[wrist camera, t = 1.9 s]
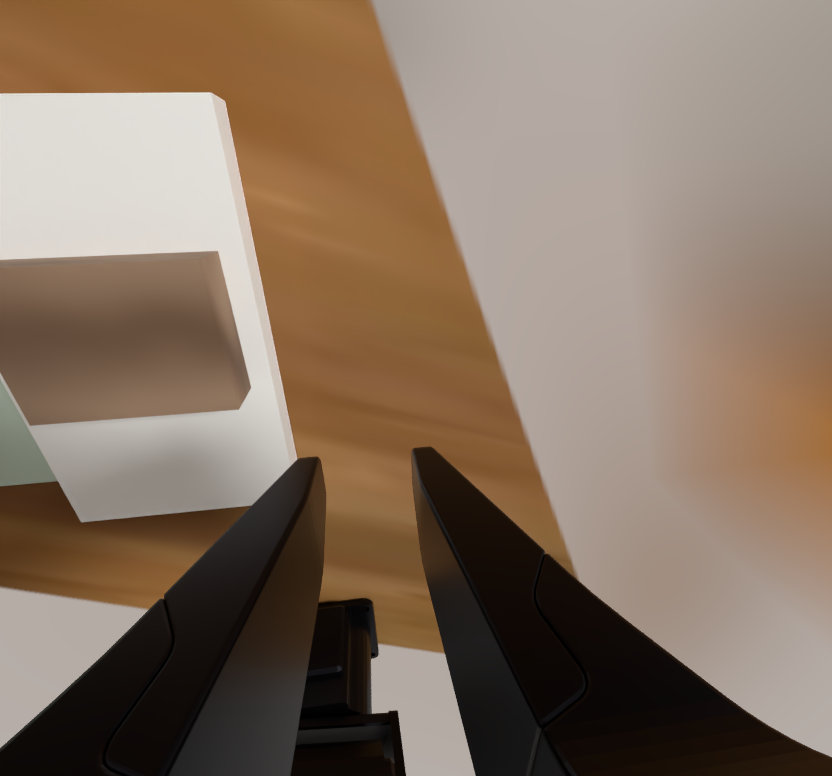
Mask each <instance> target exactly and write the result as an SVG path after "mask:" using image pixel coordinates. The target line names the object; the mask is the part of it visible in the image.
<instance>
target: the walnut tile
mask: <svg viewBox="0 0 832 776" xmlns="http://www.w3.org/2000/svg"><path fill="white" fill-rule="evenodd" d="M0 373H1V375H2V377H3V378H4V380H5V382H6V384H7V386H8V387H9V389H10V391H11V393H12V395H13V396H14V398H15V400H16V402H17V403H18V405H19V407H20V409H21V411H22V412H23V414H24V416H25V418H26V419H27V421H28V423H29V425H30V426H33V425H46V424H59V423H72V422H85V421H98V420H111V419H124V418H137V417H150V416H163V415H176V414H189V413H202V412H215V411H228V410H239V409H240V407H241V405H242V403H243V402H244V400H245V398H246V396H247V395H248V393H249V391H250V389H251V385H250V380H249V376H248V372H247V368H246V364H245V360H244V356H243V352H242V348H241V343H240V339H239V335H238V331H237V327H236V323H235V319H234V315H233V310H232V306H231V302H230V298H229V294H228V290H227V286H226V282H225V278H224V273H223V269H222V265H221V261H220V257H219V253H218V251H203V252H179V253H154V254H130V255H106V256H81V257H57V258H33V259H8V260H0Z"/></svg>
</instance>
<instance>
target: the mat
mask: <svg viewBox="0 0 832 776" xmlns="http://www.w3.org/2000/svg"><path fill="white" fill-rule="evenodd" d="M54 481H57V479H56V477H55V475H54V474H53V472H52V470H51V468H50V466H49V465H48V463H47V461H46V459H45V458H44V456H43V454H42V452H41V451H40V449H39V447H38V445H37V443H36V442H35V440H34V438H33V436H32V435H31V433H30V431H29V429H28V428H27V426H26V424H25V422H24V420H23V419H22V417H21V415H20V413H19V412H18V410H17V408H16V406H15V405H14V403H13V401H12V399H11V398H10V396H9V394H8V392H7V390H6V389H5V387H4V385H3V383H2V382H1V380H0V486H10V485H21V484H32V483H43V482H54Z"/></svg>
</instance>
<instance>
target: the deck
mask: <svg viewBox="0 0 832 776" xmlns="http://www.w3.org/2000/svg"><path fill="white" fill-rule="evenodd" d="M203 251H218V253H219V257H220V261H221V265H222V269H223V273H224V278H225V282H226V286H227V290H228V294H229V298H230V302H231V306H232V310H233V315H234V319H235V323H236V327H237V331H238V335H239V339H240V343H241V348H242V352H243V356H244V360H245V364H246V368H247V372H248V376H249V380H250V385H251V389H250V391H249V393H248V395H247V396H246V398H245V400H244V402H243V403H242V405H241V407H240V409H239V410H228V411H215V412H202V413H189V414H176V415H163V416H150V417H137V418H124V419H111V420H98V421H85V422H72V423H59V424H46V425H33V426H30V425H29V423H28V421H27V419H26V418H25V416H24V414H23V412H22V411H21V409H20V407H19V405H18V403H17V402H16V400H15V398H14V396H13V395H12V393H11V391H10V389H9V387H8V386H7V384H6V382H5V380H4V378H3V377H2V375H1V373H0V380H1V382H2V383H3V385H4V387H5V389H6V390H7V392H8V394H9V396H10V398H11V399H12V401H13V403H14V405H15V406H16V408H17V410H18V412H19V413H20V415H21V417H22V419H23V420H24V422H25V424H26V426H27V428H28V429H29V431H30V433H31V435H32V436H33V438H34V440H35V442H36V443H37V445H38V447H39V449H40V451H41V452H42V454H43V456H44V458H45V459H46V461H47V463H48V465H49V466H50V468H51V470H52V472H53V474H54V475H55V477H56V479H57V481H58V482H59V484H60V486H61V488H62V489H63V491H64V493H65V495H66V496H67V498H68V500H69V502H70V504H71V505H72V507H73V509H74V511H75V512H76V514H77V516H78V518H79V519H80V521H81V522H90V521H100V520H110V519H120V518H130V517H141V516H151V515H161V514H171V513H181V512H191V511H201V510H211V509H221V508H231V507H242V506H252V505H253V504H254V503H255V502H256V501H257V500H258V499H259V498H260V496H261V495H262V494H263V493H264V492H265V491H266V490H267V489H268V488H269V487H270V486H271V485H272V484H273V483H274V482H275V481H276V480H277V479H278V478H279V477H280V476H281V475H282V474H283V473H284V472H285V471H286V470H287V469H288V468H289V467H290V466H291V465H292V464H293V463H294V462H295V461H296V460H297V455H296V450H295V446H294V441H293V436H292V431H291V426H290V421H289V416H288V411H287V406H286V401H285V396H284V391H283V386H282V381H281V376H280V371H279V366H278V361H277V356H276V351H275V346H274V341H273V336H272V332H271V327H270V322H269V317H268V312H267V307H266V302H265V297H264V292H263V287H262V282H261V277H260V272H259V267H258V262H257V257H256V252H255V247H254V242H253V237H252V232H251V227H250V222H249V217H248V213H247V208H246V203H245V198H244V193H243V188H242V183H241V178H240V173H239V168H238V163H237V158H236V153H235V148H234V143H233V138H232V133H231V128H230V123H229V118H228V113H227V108H226V103H225V101H224V100H222V99H221V98H219V97H217V96H216V95H214V94H213V93H40V94H0V260H8V259H33V258H57V257H81V256H106V255H130V254H154V253H179V252H203Z"/></svg>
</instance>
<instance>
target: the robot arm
mask: <svg viewBox="0 0 832 776" xmlns="http://www.w3.org/2000/svg"><path fill="white" fill-rule="evenodd" d="M411 459H412V485H413V494H414V502H415V511H416V519H417V527H418V535H419V543H420V551H421V557H422V563H423V567H424V572H425V576H426V580H427V584H428V588H429V592H430V596H431V600H432V604H433V608H434V611H435V615H436V619H437V623H438V627H439V631H440V635H441V639H442V643H443V647H444V651H445V655H446V659H447V663H448V667H449V671H450V675H451V679H452V683H453V687H454V691H455V695H456V699H457V703H458V707H459V711H460V715H461V719H462V723H463V727H464V731H465V735H466V738H467V743H468V746H469V751H470V755H471V758H472V762H473V767H474V771H475V775H476V776H832V757H830V756H828V755H825V754H823V753H820V752H818V751H815V750H813V749H811V748H809V747H807V746H805V745H803V744H801V743H799V742H797V741H795V740H793V739H791V738H789V737H788V736H786V735H784V734H782V733H781V732H779V731H777V730H775V729H774V728H771V727H770V726H768V725H766V724H765V723H763V722H762V721H760V720H759V719H757V718H756V717H754V716H753V715H751V714H750V713H748V712H746V711H745V710H744V709H742V708H741V707H740V706H738V705H737V704H736V703H734V702H733V701H731V700H730V699H729V698H727V697H726V696H725V695H723V694H722V693H721V692H719V691H718V690H717V689H715V688H714V687H713V686H711V685H710V684H709V683H708V682H706V681H705V680H704V679H702V678H701V677H700V676H698V675H697V674H696V673H695V672H693V671H692V670H691V669H689V668H688V667H687V666H685V665H684V664H683V663H681V662H680V661H679V660H677V659H676V658H675V657H674V656H672V655H671V654H670V653H669V652H667V651H666V650H665V649H663V648H662V647H661V646H659V645H658V644H657V643H655V642H654V641H653V640H652V639H650V638H649V637H648V636H646V635H645V634H644V633H642V632H641V631H639V630H638V629H637V628H636V627H634V626H633V625H632V624H631V623H629V622H628V621H627V620H625V619H624V618H623V617H622V616H620V615H619V614H618V613H617V612H616V611H614V610H613V609H612V608H611V607H609V606H608V605H607V604H605V603H604V602H603V601H602V600H601V599H599V598H598V597H597V596H596V595H594V594H593V593H592V592H591V591H590V590H588V589H587V588H586V587H585V586H584V585H583V584H582V583H581V582H579V581H578V580H577V579H576V578H575V577H574V576H573V575H571V574H570V573H569V572H568V571H567V570H566V569H565V568H563V567H562V566H561V565H560V564H559V563H558V562H557V561H556V560H555V559H554V558H553V557H551V556H550V555H549V554H545V551H544V549H543V548H541V547H540V546H539V545H538V544H537V543H536V542H535V541H534V540H533V539H532V538H531V537H529V536H528V535H527V534H526V533H525V532H524V531H523V530H522V529H521V528H520V527H519V526H518V525H516V524H515V523H514V522H513V521H512V520H511V519H510V518H509V517H508V516H507V515H506V514H504V513H503V512H502V511H501V510H500V509H499V508H498V507H497V506H496V505H495V504H494V503H493V502H491V501H490V500H489V499H488V498H487V497H486V496H485V495H484V494H483V493H482V492H481V491H479V490H478V489H477V488H476V487H475V486H474V485H473V484H472V483H471V482H470V481H469V480H468V479H466V478H465V477H464V476H463V475H462V474H461V473H460V472H459V471H458V470H457V469H456V468H454V467H453V466H452V465H451V464H450V463H449V462H448V461H447V460H446V459H445V458H444V457H443V456H441V455H440V454H439V453H438V452H437V451H436V450H435V449H434V448H432V447H419V448H413V449H412V452H411ZM325 517H326V489H325V483H324V477H323V471H322V465H321V460H320V459H319V457H306V458H299V459H297V460H296V461H295V462H294V463H293V464H292V465H291V466H290V467H289V468H288V469H287V470H286V471H285V472H284V473H283V474H282V475H281V476H280V477H279V478H278V479H277V480H276V481H275V482H274V483H273V484H272V485H271V486H270V487H269V488H268V489H267V490H266V491H265V492H264V493H263V494H262V495H261V496H260V498H259V499H258V500H257V501H256V502H255V503H254V504H253V505H252V506H251V507H250V508H249V509H248V510H247V511H246V512H245V513H244V514H243V515H242V516H241V517H240V518H239V519H238V520H237V521H236V522H235V523H234V524H233V525H232V526H231V527H230V528H229V529H228V530H227V531H226V532H225V533H224V534H223V535H222V536H221V537H220V538H219V539H218V540H217V541H216V542H215V543H214V544H213V545H212V546H211V547H210V548H209V549H208V550H207V551H206V552H205V553H204V555H203V556H202V557H201V558H200V559H199V560H198V561H197V562H196V563H195V564H194V565H193V566H192V567H191V568H190V569H189V570H188V571H187V572H186V573H185V574H184V575H183V576H182V577H181V578H180V579H179V580H178V581H177V582H176V583H175V584H174V585H173V586H172V587H171V588H170V589H169V590H168V591H167V592H166V593H165V594H164V599H159V600H158V601H157V602H156V603H155V604H154V605H153V606H152V607H151V608H150V609H149V610H148V611H147V612H146V613H145V614H144V615H143V616H142V617H141V618H140V619H139V621H137V622H136V623H135V625H133V626H132V627H131V628H130V629H129V630H128V631H127V632H126V633H125V634H124V635H123V636H122V637H121V638H120V639H119V640H118V641H117V642H116V643H115V644H114V645H113V646H112V647H111V648H110V649H109V650H108V651H107V652H106V653H105V654H104V655H103V656H102V657H101V658H100V659H98V661H96V662H95V663H94V664H93V665H92V666H91V667H90V668H89V669H88V670H87V671H85V672H84V673H83V674H82V675H81V676H80V677H79V678H78V679H77V680H76V681H75V682H74V683H72V684H71V685H70V686H69V687H68V688H67V689H66V690H65V691H64V692H63V693H61V694H60V695H59V696H58V697H57V698H56V699H55V700H54V701H53V702H52V703H50V704H49V706H47V707H46V708H45V709H44V710H43V711H42V712H40V713H39V714H38V715H37V716H36V717H35V718H34V719H33V720H31V721H30V722H29V723H28V724H27V725H26V726H25V727H24V728H23V729H22V730H20V731H19V732H18V733H17V734H16V735H15V736H14V737H12V738H11V739H10V740H9V741H8V742H7V743H6V744H5V745H3V746H2V747H1V748H0V776H406V773H405V766H404V757H403V750H402V742H401V733H400V726H399V718H398V711H389V712H388V713H376V714H372V710H371V659H372V658H375V657H377V656H378V641H377V633H376V624H375V616H374V607H373V602H372V601H371V600H366V599H365V600H357V601H349V602H341V603H333V604H325V605H318V602H319V596H320V590H321V583H322V575H323V564H324V542H325Z"/></svg>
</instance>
